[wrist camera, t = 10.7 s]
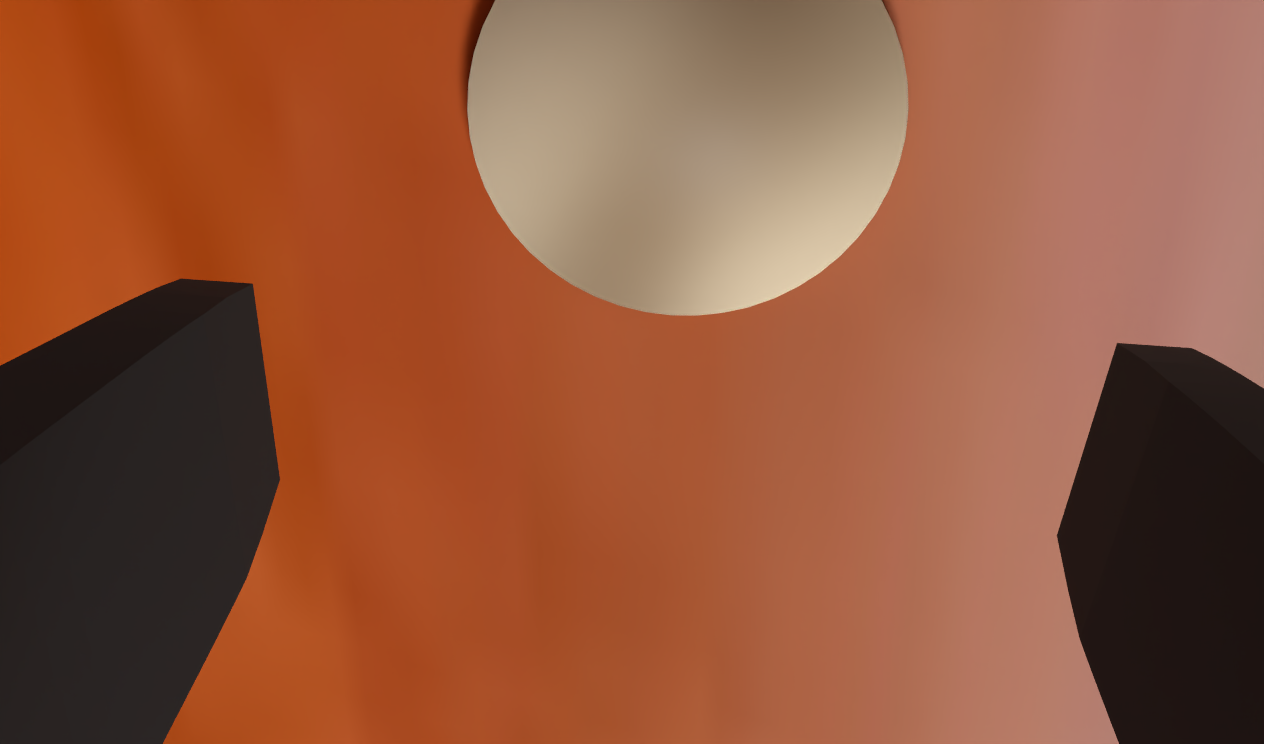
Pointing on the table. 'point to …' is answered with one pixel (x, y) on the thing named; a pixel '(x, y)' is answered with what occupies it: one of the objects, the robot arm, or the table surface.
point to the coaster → (687, 140)
